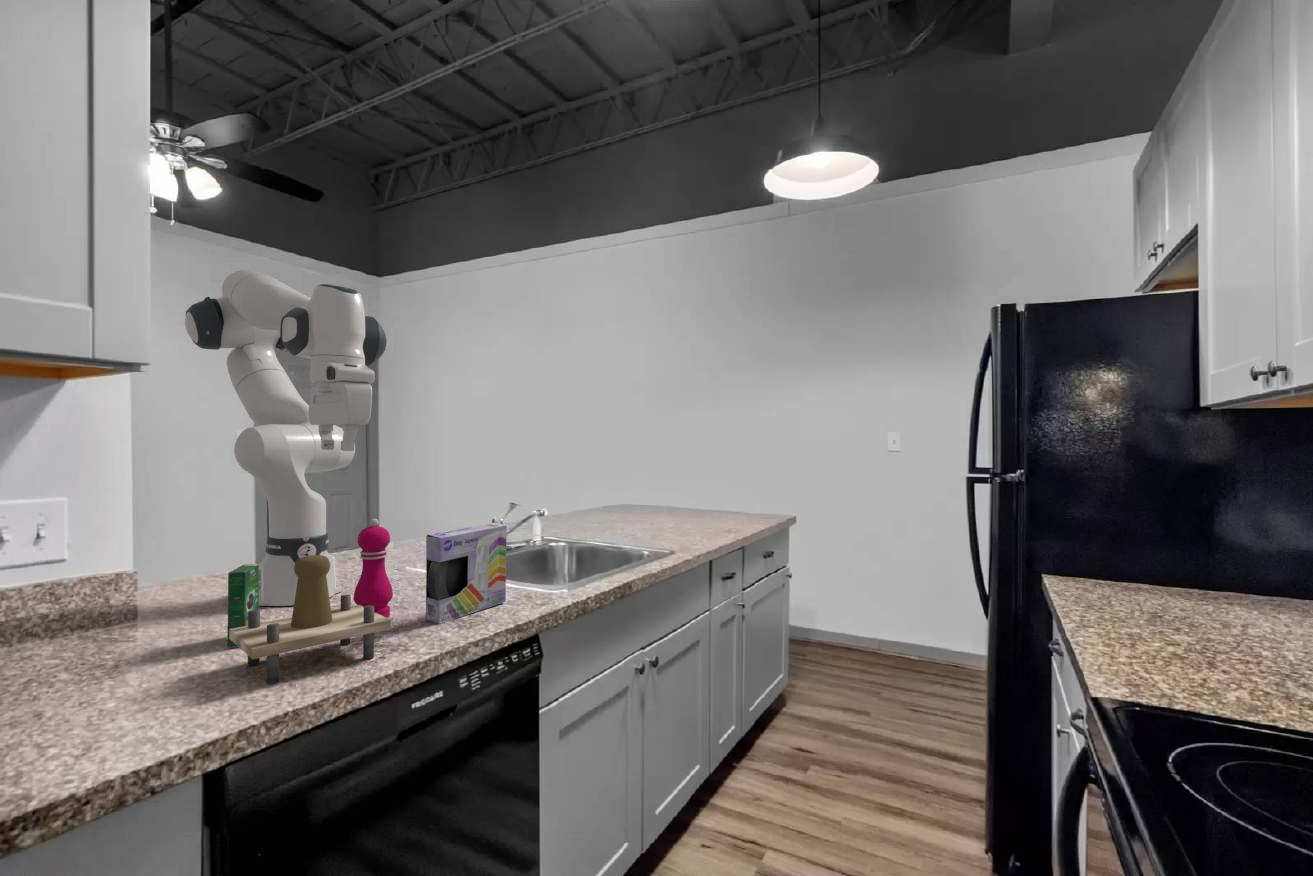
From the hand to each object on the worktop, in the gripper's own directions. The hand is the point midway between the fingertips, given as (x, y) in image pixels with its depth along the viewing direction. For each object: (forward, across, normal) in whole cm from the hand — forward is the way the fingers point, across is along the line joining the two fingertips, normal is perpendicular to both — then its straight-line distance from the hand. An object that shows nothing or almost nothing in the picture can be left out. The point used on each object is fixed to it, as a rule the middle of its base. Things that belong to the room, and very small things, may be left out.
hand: (337, 450), depth 112 cm
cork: (+28, +8, -7) cm, 30 cm away
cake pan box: (+34, +2, +25) cm, 43 cm away
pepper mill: (+34, -8, +10) cm, 37 cm away
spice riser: (+34, +9, -7) cm, 36 cm away
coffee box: (+34, -10, -12) cm, 38 cm away
